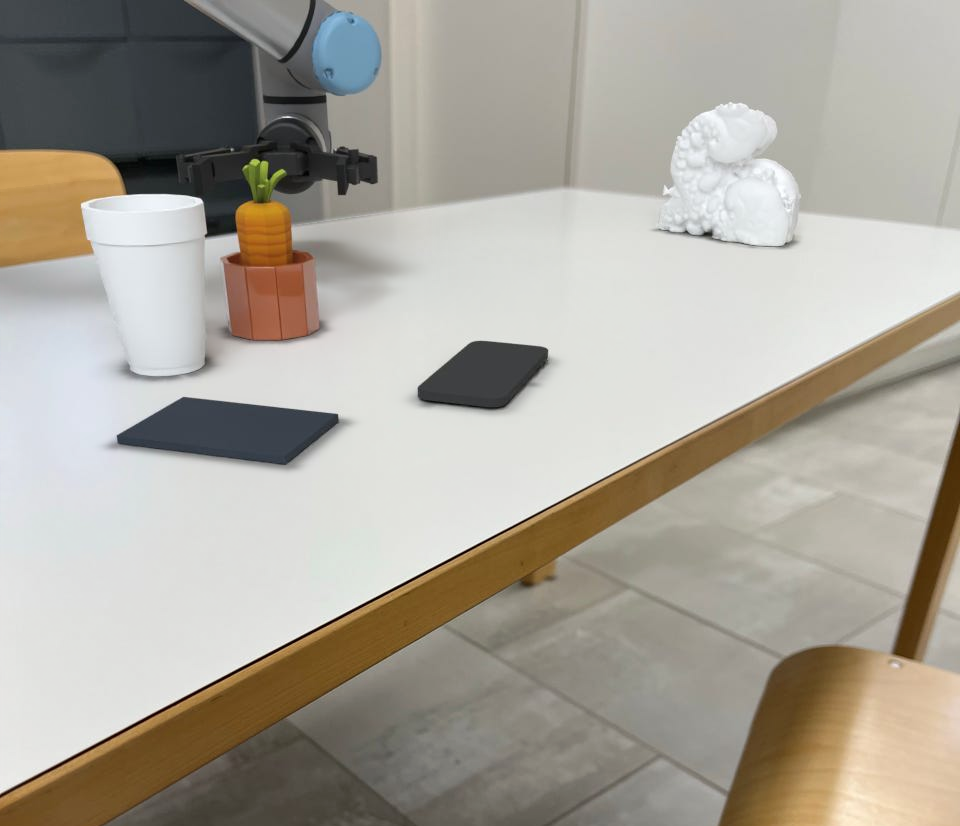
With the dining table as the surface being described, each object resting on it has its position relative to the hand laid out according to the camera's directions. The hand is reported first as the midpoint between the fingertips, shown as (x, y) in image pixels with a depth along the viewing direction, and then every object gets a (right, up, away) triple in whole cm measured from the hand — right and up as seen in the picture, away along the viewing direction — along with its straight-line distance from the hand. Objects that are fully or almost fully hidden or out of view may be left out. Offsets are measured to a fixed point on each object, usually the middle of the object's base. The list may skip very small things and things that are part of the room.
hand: (269, 180), depth 98 cm
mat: (+2, -29, -24) cm, 37 cm away
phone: (+21, -22, -12) cm, 33 cm away
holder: (0, -14, +1) cm, 14 cm away
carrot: (0, -14, +1) cm, 14 cm away
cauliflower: (+54, +13, +45) cm, 72 cm away
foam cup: (-7, -20, -10) cm, 24 cm away
